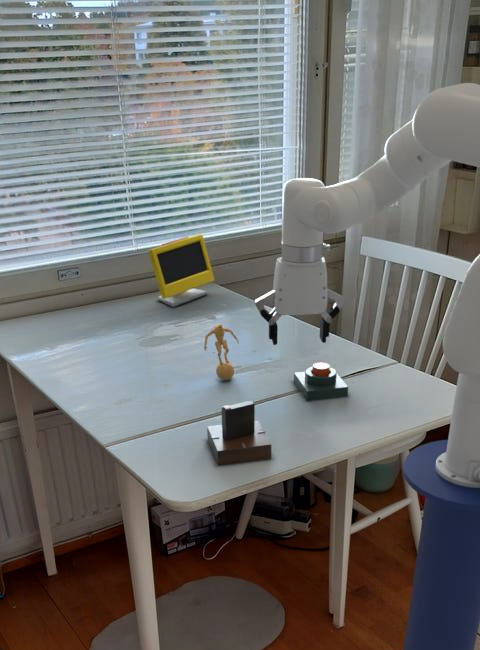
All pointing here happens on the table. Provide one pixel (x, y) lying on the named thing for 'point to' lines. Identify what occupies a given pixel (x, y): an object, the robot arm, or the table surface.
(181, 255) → the toy computer monitor
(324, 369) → the button
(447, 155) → the robot arm
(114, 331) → the table surface
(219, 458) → the panel
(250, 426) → the handle
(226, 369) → the figurine
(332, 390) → the box
